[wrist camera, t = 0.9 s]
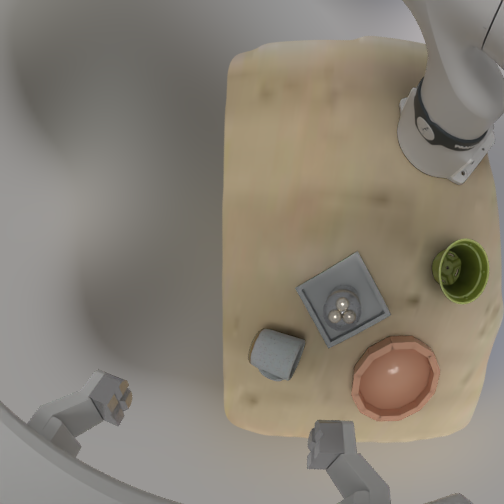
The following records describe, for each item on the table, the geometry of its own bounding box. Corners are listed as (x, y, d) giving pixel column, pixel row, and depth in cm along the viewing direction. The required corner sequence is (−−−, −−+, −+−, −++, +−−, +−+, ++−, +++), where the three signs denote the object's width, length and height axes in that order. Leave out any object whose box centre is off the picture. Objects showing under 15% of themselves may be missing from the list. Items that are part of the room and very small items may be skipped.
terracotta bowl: (417, 319, 39) (422, 324, 36) (443, 386, 36) (447, 394, 33) (339, 362, 44) (337, 370, 41) (370, 422, 41) (370, 432, 38)
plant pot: (474, 251, 35) (496, 251, 27) (457, 302, 36) (476, 312, 28) (433, 232, 38) (450, 228, 30) (416, 284, 39) (429, 292, 31)
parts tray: (357, 251, 43) (357, 251, 41) (389, 312, 41) (390, 314, 39) (297, 286, 47) (295, 288, 45) (329, 344, 45) (328, 348, 43)
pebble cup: (350, 278, 43) (350, 286, 34) (364, 306, 42) (368, 321, 33) (322, 294, 45) (314, 306, 35) (337, 321, 44) (333, 339, 34)
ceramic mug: (265, 321, 49) (250, 334, 42) (308, 334, 46) (299, 349, 39) (253, 369, 50) (238, 386, 43) (293, 382, 47) (282, 402, 40)
